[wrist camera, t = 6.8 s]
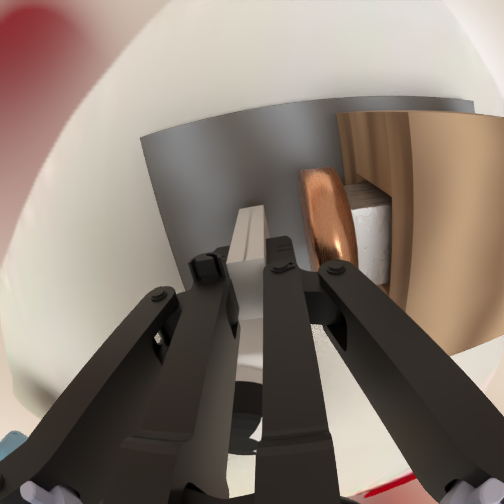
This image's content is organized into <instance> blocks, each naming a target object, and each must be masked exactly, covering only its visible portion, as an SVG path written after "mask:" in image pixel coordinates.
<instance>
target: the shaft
mask: <svg viewBox="0 0 504 504" xmlns="http://www.w3.org/2000/svg"><path fill="white" fill-rule="evenodd" d="M299 194H300V203H301V211H302V219H303V226H304V233H305V239H306V246H307V252H308V258H309V263H310V269H311V271H312V272H318V269H319V266H321V265H322V264H323V263H325V262H327V261H331V260H335V259H337V260H338V259H341V260H345V261H349V262H350V263H352V264H353V265H355V266H356V267H357V268H358V269H359V270H360V271H361V272H362V273H363V274H365V275H366V276H367V277H368V278H369V279H370V280H371V281H372V282H373V283H374V284H376V285H381V284H386V283H390V280H391V262H392V197H391V196H390V195H388V194H387V193H385V192H384V191H382V190H381V189H379V188H378V187H377V186H375V185H374V184H372V183H362V184H354V185H346V186H343V183H342V181H341V179H340V177H339V175H338V173H337V172H336V170H335V169H334V168H333V167H331V166H330V167H322V168H314V169H307V170H300V171H299Z"/></svg>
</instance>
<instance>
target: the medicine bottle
mask: <svg viewBox="0 0 504 504" xmlns="http://www.w3.org/2000/svg"><path fill="white" fill-rule="evenodd" d="M238 319H239V323H240V327H241V332H240V341H239V351H238V361H237V371H236V380H235V390H234V400H233V410H232V420H231V430H230V439H229V449H228V453H230V454H235V455H256V449H257V444H258V442H259V441H260V440H261V437H262V390H263V318H257V319H249V320H241V316H240V313H239V316H238Z"/></svg>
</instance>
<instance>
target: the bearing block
mask: <svg viewBox="0 0 504 504" xmlns="http://www.w3.org/2000/svg"><path fill="white" fill-rule="evenodd" d="M140 140H141V144H142V149H143V153H144V156H145V160H146V164H147V168H148V172H149V176H150V179H151V183H152V187H153V190H154V194H155V197H156V201H157V204H158V208H159V211H160V214H161V218H162V221H163V224H164V227H165V231H166V234H167V237H168V240H169V243H170V246H171V249H172V252H173V256H174V259H175V262H176V264H177V267H178V270H179V273H180V276H181V279H182V282H183V285H184V288H185V290H186V291H188V290H190V289H191V287H192V284H193V282H194V281H193V278H192V275H191V272H190V269H189V265H188V262H189V261H190V259H192V258H193V257H195V256H197V255H200V254H203V253H207V252H213V251H214V250H215V249H216V248H218V247H224V246H230V245H231V241H232V237H233V233H234V229H235V225H236V221H237V217H238V213H239V209H242V208H248V207H254V206H259V205H264V210H265V216H266V221H267V226H268V232H269V237H270V238H273V237H280V236H288V237H289V238H291V239H292V243H293V248H294V253H295V257H296V262H297V264H298V267H299V268H301V269H303V270H306V271H311V269H310V263H309V258H308V252H307V246H306V239H305V233H304V226H303V219H302V211H301V203H300V194H299V171H300V170H307V169H314V168H322V167H330V166H331V167H333V168H334V169H335V170H336V172H337V173H338V175H339V177H340V179H341V181H342V183H343V186H346V185H354V184H362V183H372V184H374V185H375V186H377V187H378V188H379V189H381V190H382V191H384V192H385V193H387V194H388V195H390V196H391V197H392V262H391V280H390V283H386V284H381V285H377V286H378V287H379V288H380V289H381V290H382V291H383V292H384V293H385V294H386V295H387V296H389V297H390V298H391V299H392V300H393V301H394V302H395V303H396V304H397V305H398V306H399V307H400V308H401V309H402V310H403V311H404V312H405V313H406V314H407V315H409V316H410V317H411V318H412V319H413V320H414V321H415V322H416V323H417V324H418V325H419V326H420V327H421V328H422V329H423V330H424V331H425V332H426V333H427V334H428V335H429V336H430V337H431V338H432V339H433V340H434V341H435V342H436V343H437V344H438V345H439V346H440V347H441V348H442V349H443V350H444V351H445V352H446V353H447V354H448V356H452V355H454V354H457V353H460V352H463V351H465V350H468V349H471V348H473V347H476V346H478V345H481V344H483V343H485V342H488V341H490V340H493V339H495V338H497V337H499V336H502V335H504V117H499V116H492V115H484V114H476V113H475V111H474V102H473V101H470V100H461V99H450V98H437V97H417V96H368V97H347V98H333V99H321V100H311V101H303V102H294V103H287V104H280V105H273V106H267V107H261V108H255V109H250V110H244V111H239V112H234V113H229V114H225V115H220V116H216V117H211V118H207V119H203V120H199V121H195V122H191V123H187V124H184V125H180V126H176V127H173V128H169V129H166V130H162V131H159V132H156V133H153V134H149V135H146V136H143V137H140Z"/></svg>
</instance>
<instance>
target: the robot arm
mask: <svg viewBox="0 0 504 504" xmlns="http://www.w3.org/2000/svg"><path fill="white" fill-rule="evenodd" d="M188 265H189V269H190V272H191V275H192V278H193V281H194V282H193V284H192V287H191V289H190V290H188V291H185V292H182V293H179V294H176V292H175V290H174V289H173V288H172V287H169V286H164V287H159V288H155V289H154V290H152V291H150V292H149V293H148V294H147V295H146V296H145V297H144V298H143V299H142V300H141V301H140V302H139V303H138V305H137V306H136V307H135V308H134V309H133V310H132V311H131V312H130V314H129V315H128V316H127V317H126V318H125V319H124V320H123V321H122V323H121V324H120V325H119V326H118V327H117V328H116V329H115V331H114V332H113V333H112V334H111V335H110V336H109V337H108V339H107V340H106V341H105V342H104V343H103V344H102V346H101V347H100V348H99V349H98V350H97V352H96V353H95V354H94V355H93V356H92V357H91V359H90V360H89V361H88V362H87V363H86V365H85V366H84V367H83V368H82V370H81V371H80V372H79V373H78V374H77V376H76V377H75V378H74V379H73V381H72V382H71V383H70V384H69V385H68V387H67V388H66V389H65V390H64V392H63V393H62V394H61V396H60V397H59V398H58V399H57V401H56V402H55V403H54V404H53V406H52V407H51V408H50V410H49V411H48V412H47V413H46V415H45V416H44V417H43V419H42V420H41V422H40V423H39V424H38V426H37V427H36V428H35V429H34V431H33V432H32V433H31V435H30V436H29V438H28V437H27V436H26V435H24V434H23V433H21V432H19V431H11V432H9V433H8V434H7V435H6V436H5V437H4V438H3V439H2V441H1V442H0V504H360V503H358V502H356V501H354V500H351V499H349V498H346V497H342V496H340V492H339V484H338V476H337V468H336V461H335V454H334V447H333V441H332V437H331V433H330V432H329V428H328V422H327V416H326V409H325V403H324V397H323V391H322V385H321V379H320V373H319V368H318V362H317V357H316V351H315V346H314V340H313V335H312V330H311V325H310V324H318V325H322V326H323V329H324V331H325V333H326V334H327V336H328V337H329V339H330V341H331V342H332V344H333V345H334V347H335V348H336V350H337V351H338V353H339V354H340V356H341V358H342V359H343V361H344V362H345V364H346V365H347V367H348V368H349V370H350V372H351V373H352V375H353V376H354V378H355V379H356V381H357V383H358V384H359V386H360V387H361V389H362V390H363V392H364V394H365V395H366V397H367V398H368V400H369V402H370V403H371V405H372V406H373V408H374V409H375V411H376V413H377V414H378V416H379V417H380V419H381V421H382V422H383V424H384V425H385V427H386V429H387V430H388V432H389V433H390V435H391V437H392V438H393V440H394V442H395V443H396V445H397V446H398V448H399V450H400V451H401V453H402V455H403V456H404V458H405V460H406V461H407V463H408V464H409V466H410V468H411V469H412V471H413V473H414V474H415V476H416V478H417V479H418V480H419V482H420V483H421V485H422V486H423V488H424V489H425V490H426V491H427V492H428V493H429V494H430V495H431V496H432V497H433V498H434V499H435V500H436V501H437V502H438V503H439V504H504V416H503V415H502V414H501V413H500V412H499V411H498V409H497V408H496V407H495V406H494V405H493V404H492V402H491V401H490V400H489V399H488V398H487V397H486V396H485V394H484V393H483V392H482V391H481V390H480V389H479V388H478V387H477V385H476V384H475V383H474V382H473V381H472V380H471V379H470V378H469V377H468V376H467V375H466V373H465V372H464V371H463V370H462V369H461V368H460V367H459V366H458V365H457V364H456V363H455V362H454V361H453V360H452V359H451V358H450V357H449V356H448V354H447V353H446V352H445V351H444V350H443V349H442V348H441V347H440V346H439V345H438V344H437V343H436V342H435V341H434V340H433V339H432V338H431V337H430V336H429V335H428V334H427V333H426V332H425V331H424V330H423V329H422V328H421V327H420V326H419V325H418V324H417V323H416V322H415V321H414V320H413V319H412V318H411V317H410V316H409V315H407V314H406V313H405V312H404V311H403V310H402V309H401V308H400V307H399V306H398V305H397V304H396V303H395V302H394V301H393V300H392V299H391V298H390V297H389V296H387V295H386V294H385V293H384V292H383V291H382V290H381V289H380V288H379V287H378V286H377V285H376V284H374V283H373V282H372V281H371V280H370V279H369V278H368V277H367V276H366V275H365V274H363V273H362V272H361V271H360V270H359V269H358V268H357V267H356V266H355V265H353V264H352V263H350V262H349V261H345V260H341V259H338V260H337V259H335V260H331V261H327V262H325V263H323V264H322V265H321V266H319V269H318V272H312V271H306V270H303V269H301V268H299V267H298V264H297V262H296V257H295V253H294V248H293V243H292V239H291V238H289V237H288V236H280V237H273V238H270V237H269V232H268V226H267V221H266V216H265V210H264V205H259V206H254V207H248V208H242V209H239V213H238V217H237V221H236V225H235V229H234V233H233V237H232V241H231V245H230V246H224V247H218V248H216V249H215V250H214V251H213V252H207V253H203V254H200V255H197V256H195V257H193V258H192V259H190V261H189V262H188ZM239 313H240V316H241V320H249V319H257V318H263V390H262V437H261V440H260V441H259V442H258V444H257V449H256V467H255V493H253V494H249V495H244V496H240V497H234V498H229V489H228V485H227V481H226V470H227V459H228V449H229V439H230V430H231V420H232V410H233V400H234V390H235V380H236V371H237V361H238V351H239V341H240V332H241V327H240V323H239V319H238V316H239ZM157 333H159V335H160V337H161V341H160V342H159V343H157V342H156V341H155V339H154V337H155V335H156V334H157Z"/></svg>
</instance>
